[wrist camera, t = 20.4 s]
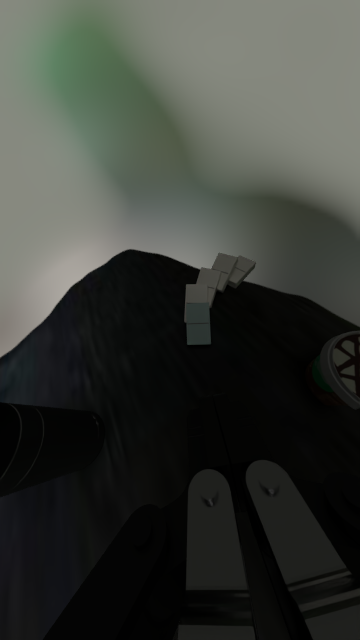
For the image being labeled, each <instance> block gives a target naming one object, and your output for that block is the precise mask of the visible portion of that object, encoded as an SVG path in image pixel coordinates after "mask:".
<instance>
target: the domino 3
mask: <svg viewBox="0 0 360 640" xmlns="http://www.w3.org/2000/svg"><path fill="white" fill-rule="evenodd" d="M186 319H187V345H201V344H211V336H210V315H209V302H207V303H190V304H186Z"/></svg>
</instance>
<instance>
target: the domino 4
mask: <svg viewBox="0 0 360 640" xmlns="http://www.w3.org/2000/svg"><path fill="white" fill-rule="evenodd" d="M237 263H238V258H237V257H234V256H230V255H226V254H222V253H219V254H218V256H217V258H216V260H215V262H214V264H213V266H212V269H213V270H218V271H221V273H222V275H221V278H220V281H219V284H218V288H217V291H219V292H221V293H223V292H224V290H225V288H226V286H227V284H228V282H229V279H230V277H231V275H232V273H233V271H234V269H235V267H236V265H237Z"/></svg>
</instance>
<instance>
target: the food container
mask: <svg viewBox="0 0 360 640" xmlns="http://www.w3.org/2000/svg"><path fill="white" fill-rule="evenodd" d="M305 379H306V383H307V385H308V387H309V389H310V391H311V392H312V394H313V395H314V396H315V397H316V398H317V399H318V400H319V401H320V402H322V403H323V404H324V405H349V406H351V407H352V408H353V409H358V408H360V331H353V332H348V333H344V334H341V335H338V336H336V337H334V338H332V339H330V340H329V341H328V342H327V343H326V344H325V345H324V347H323V348H322V351H321V354H320V355H319V356H317V357H316V358H315V359H314V360H313V361H312V362H310V363H309V364H308V366H307V368H306V371H305Z"/></svg>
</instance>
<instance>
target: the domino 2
mask: <svg viewBox="0 0 360 640" xmlns="http://www.w3.org/2000/svg"><path fill="white" fill-rule="evenodd" d="M207 299H208V284H192V285H186V300H185V318H184V322H185V323H187V319H186V304H190V303H207Z"/></svg>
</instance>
